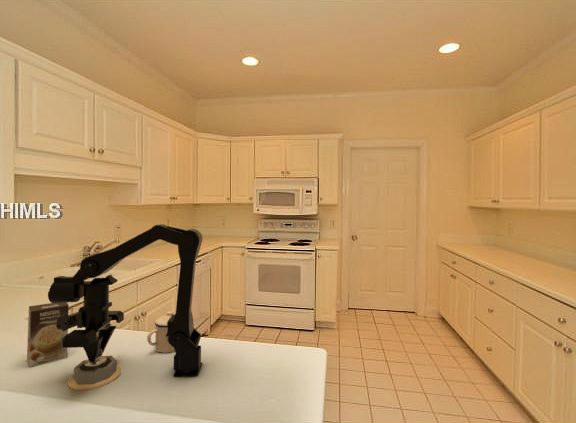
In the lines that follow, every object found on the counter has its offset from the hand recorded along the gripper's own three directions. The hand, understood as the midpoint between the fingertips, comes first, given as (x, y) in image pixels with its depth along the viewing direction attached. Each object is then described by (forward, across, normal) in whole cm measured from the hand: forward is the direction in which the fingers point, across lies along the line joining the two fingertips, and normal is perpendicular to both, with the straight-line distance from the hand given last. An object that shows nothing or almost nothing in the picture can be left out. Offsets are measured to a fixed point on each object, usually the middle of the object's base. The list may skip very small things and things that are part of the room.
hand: (95, 359), depth 80 cm
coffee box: (+5, -11, -20) cm, 23 cm away
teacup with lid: (+5, -16, +13) cm, 21 cm away
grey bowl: (+5, 0, 0) cm, 5 cm away
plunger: (+3, 0, 0) cm, 3 cm away
